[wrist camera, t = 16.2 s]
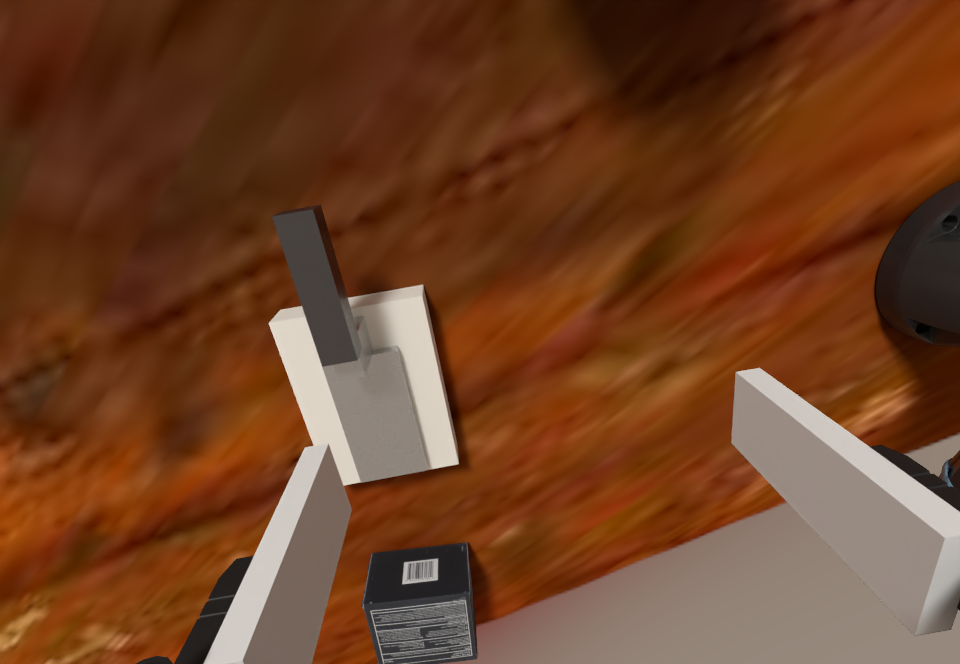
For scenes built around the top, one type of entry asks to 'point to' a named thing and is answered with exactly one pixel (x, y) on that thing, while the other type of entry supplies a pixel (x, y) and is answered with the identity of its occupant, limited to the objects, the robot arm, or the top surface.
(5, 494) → the top surface
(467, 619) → the small box
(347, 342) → the dark gray bar
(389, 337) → the board
